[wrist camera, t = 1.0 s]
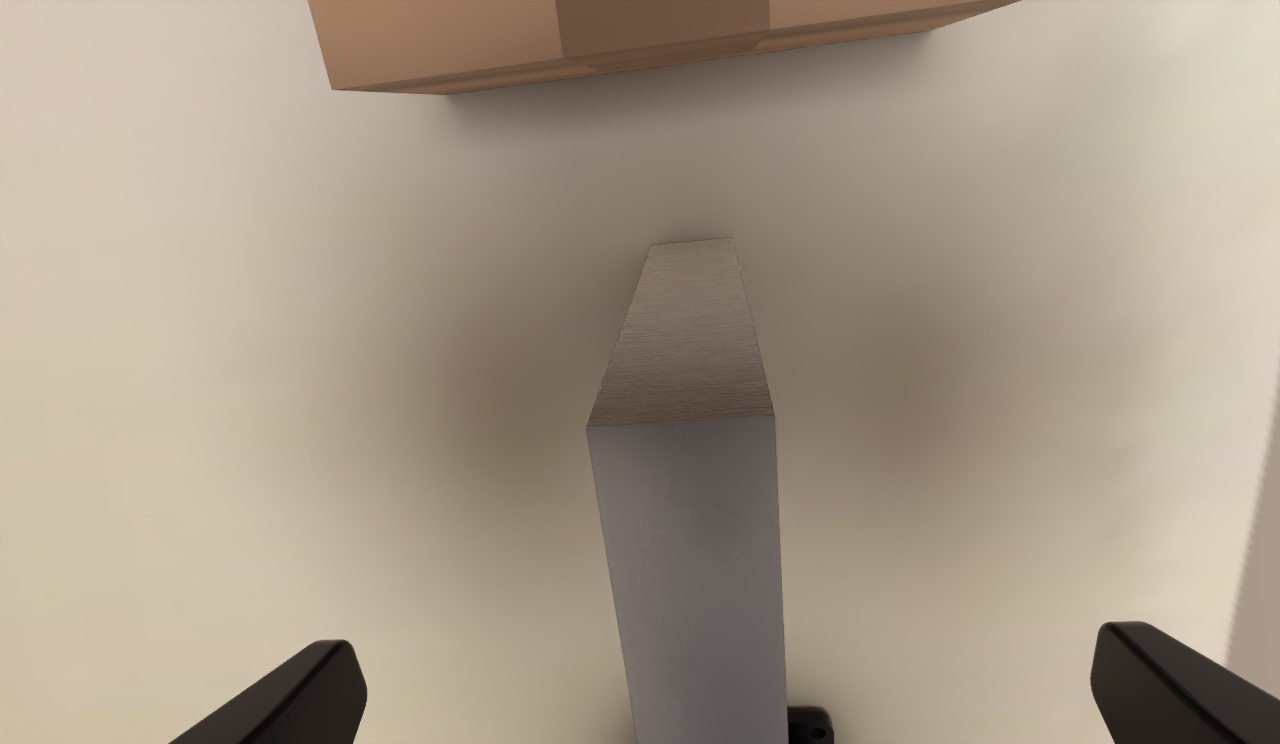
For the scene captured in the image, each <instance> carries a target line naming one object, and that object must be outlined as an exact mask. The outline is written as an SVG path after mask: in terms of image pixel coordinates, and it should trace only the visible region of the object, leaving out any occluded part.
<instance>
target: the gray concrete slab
mask: <svg viewBox="0 0 1280 744" xmlns="http://www.w3.org/2000/svg"><path fill="white" fill-rule="evenodd" d="M586 431H587V437H588V443H589V449H590V455H591V461H592V468H593V474H594V480H595V486H596V492H597V498H598V504H599V511H600V517H601V523H602V529H603V535H604V541H605V547H606V554H607V560H608V566H609V572H610V578H611V584H612V590H613V597H614V603H615V609H616V615H617V621H618V627H619V633H620V640H621V646H622V652H623V658H624V664H625V670H626V676H627V682H628V689H629V695H630V701H631V707H632V713H633V719H634V725H635V732H636V738H637V744H789V742H788V719H787V695H786V671H785V648H784V624H783V601H782V577H781V553H780V530H779V506H778V483H777V459H776V435H775V415H774V411H773V407H772V402H771V398H770V394H769V390H768V385H767V381H766V377H765V373H764V369H763V364H762V360H761V356H760V352H759V347H758V343H757V339H756V335H755V331H754V326H753V322H752V318H751V314H750V309H749V305H748V301H747V297H746V293H745V288H744V284H743V280H742V276H741V271H740V267H739V263H738V259H737V255H736V250H735V246H734V242H733V238H732V237H727V238H717V239H707V240H697V241H687V242H676V243H666V244H656V245H652V246H651V248H650V251H649V254H648V257H647V260H646V262H645V265H644V268H643V271H642V273H641V276H640V279H639V282H638V285H637V287H636V290H635V293H634V296H633V298H632V301H631V304H630V307H629V310H628V312H627V315H626V318H625V321H624V324H623V326H622V329H621V332H620V335H619V337H618V340H617V343H616V346H615V349H614V351H613V354H612V357H611V360H610V362H609V365H608V368H607V371H606V374H605V376H604V379H603V382H602V385H601V387H600V390H599V393H598V396H597V399H596V401H595V404H594V407H593V410H592V412H591V415H590V418H589V421H588V424H587V426H586Z"/></svg>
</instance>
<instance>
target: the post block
mask: <svg viewBox="0 0 1280 744" xmlns="http://www.w3.org/2000/svg"><path fill="white" fill-rule="evenodd" d="M1018 1H1021V0H308V2H309V6H310V10H311V14H312V17H313V21H314V25H315V28H316V32H317V36H318V40H319V43H320V47H321V51H322V55H323V58H324V62H325V66H326V70H327V73H328V77H329V81H330V85H331V88H332V90H346V91H368V92H390V93H413V94H435V95H447V94H454V93H462V92H469V91H477V90H484V89H492V88H499V87H507V86H514V85H522V84H529V83H537V82H545V81H552V80H560V79H567V78H575V77H582V76H590V75H597V74H605V73H612V72H620V71H627V70H635V69H642V68H650V67H657V66H665V65H672V64H680V63H687V62H695V61H702V60H710V59H717V58H725V57H733V56H740V55H748V54H755V53H763V52H770V51H778V50H785V49H793V48H800V47H808V46H815V45H823V44H830V43H838V42H845V41H853V40H860V39H868V38H875V37H883V36H890V35H898V34H905V33H913V32H921V31H928V30H934V29H937V28H940V27H943V26H946V25H949V24H952V23H955V22H958V21H961V20H964V19H967V18H970V17H973V16H976V15H979V14H982V13H985V12H988V11H991V10H994V9H997V8H1000V7H1003V6H1006V5H1009V4H1012V3H1015V2H1018Z"/></svg>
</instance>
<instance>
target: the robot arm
mask: <svg viewBox="0 0 1280 744" xmlns="http://www.w3.org/2000/svg"><path fill="white" fill-rule="evenodd" d="M1090 681H1091V689H1092V693H1093V696H1094V699H1095V701H1096V704H1097V706H1098V708H1099V710H1100V712H1101V715H1102V717H1103V719H1104V721H1105V723H1106V725H1107V728H1108V730H1109V732H1110V734H1111V736H1112V738H1113V741H1114V743H1115V744H1280V700H1279V699H1277V698H1276V697H1274V696H1272V695H1271V694H1269V693H1267V692H1265V691H1264V690H1262V689H1260V688H1258V687H1257V686H1255V685H1253V684H1252V683H1250V682H1248V681H1246V680H1245V679H1243V678H1241V677H1240V676H1238V675H1236V674H1234V673H1233V672H1231V671H1229V670H1228V669H1226V668H1224V667H1223V666H1221V665H1219V664H1217V663H1216V662H1214V661H1212V660H1211V659H1209V658H1207V657H1205V656H1204V655H1202V654H1200V653H1199V652H1197V651H1195V650H1193V649H1192V648H1190V647H1188V646H1187V645H1185V644H1183V643H1181V642H1180V641H1178V640H1176V639H1175V638H1173V637H1171V636H1169V635H1168V634H1166V633H1164V632H1163V631H1161V630H1159V629H1157V628H1156V627H1154V626H1152V625H1150V624H1148V623H1145V622H1140V621H1126V622H1107V623H1104V624H1103V625H1102V626H1101V627H1100V629H1099V632H1098V636H1097V642H1096V647H1095V653H1094V658H1093V664H1092V669H1091V676H1090ZM366 702H367V686H366V682H365V679H364V677H363V674H362V671H361V668H360V665H359V663H358V660H357V657H356V654H355V651H354V648H353V646H352V645H351V644H350V643H349V642H348V641H346V640H319V641H315V642H313V643H312V644H310V645H308V646H307V647H306V648H304V649H303V650H301V651H300V652H298V653H297V654H296V655H294V656H293V657H291V658H290V659H288V660H287V661H286V662H284V663H283V664H281V665H280V666H278V667H277V668H276V669H274V670H273V671H271V672H270V673H268V674H267V675H266V676H264V677H263V678H261V679H260V680H258V681H257V682H256V683H254V684H253V685H251V686H250V687H249V688H247V689H246V690H244V691H243V692H241V693H240V694H239V695H237V696H236V697H234V698H233V699H231V700H230V701H228V702H227V703H226V704H224V705H223V706H221V707H220V708H218V709H217V710H216V711H214V712H213V713H211V714H210V715H208V716H207V717H206V718H204V719H203V720H201V721H200V722H198V723H197V724H196V725H194V726H193V727H191V728H190V729H188V730H187V731H186V732H184V733H183V734H181V735H180V736H178V737H177V738H176V739H174V740H173V741H171V742H170V743H168V744H353V742H354V739H355V736H356V733H357V730H358V727H359V724H360V721H361V719H362V716H363V713H364V710H365V706H366ZM787 719H788V742H789V744H834V731H833V727H832V722H831V719H830V717H829V716H828V715H826V714H824V713H822V712H787Z"/></svg>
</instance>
